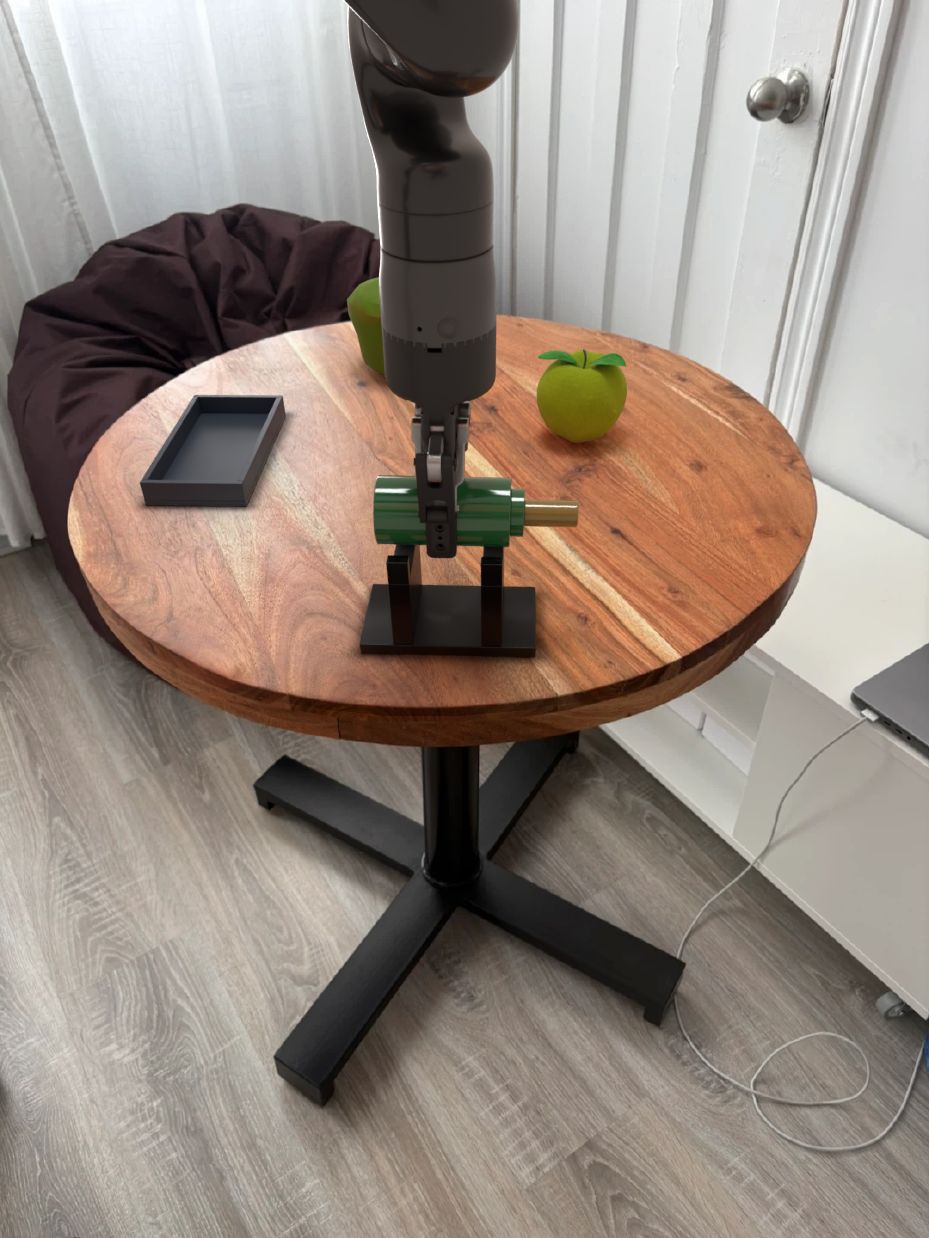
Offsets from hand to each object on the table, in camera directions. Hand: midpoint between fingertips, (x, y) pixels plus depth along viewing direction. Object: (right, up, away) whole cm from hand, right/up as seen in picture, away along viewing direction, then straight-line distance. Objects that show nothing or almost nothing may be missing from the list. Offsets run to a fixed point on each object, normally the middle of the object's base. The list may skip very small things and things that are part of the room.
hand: (444, 532), depth 71 cm
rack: (0, -7, +6) cm, 9 cm away
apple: (-6, +24, +45) cm, 51 cm away
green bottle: (+2, 0, 0) cm, 3 cm away
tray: (-25, +11, +28) cm, 39 cm away
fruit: (+14, +13, +30) cm, 36 cm away
